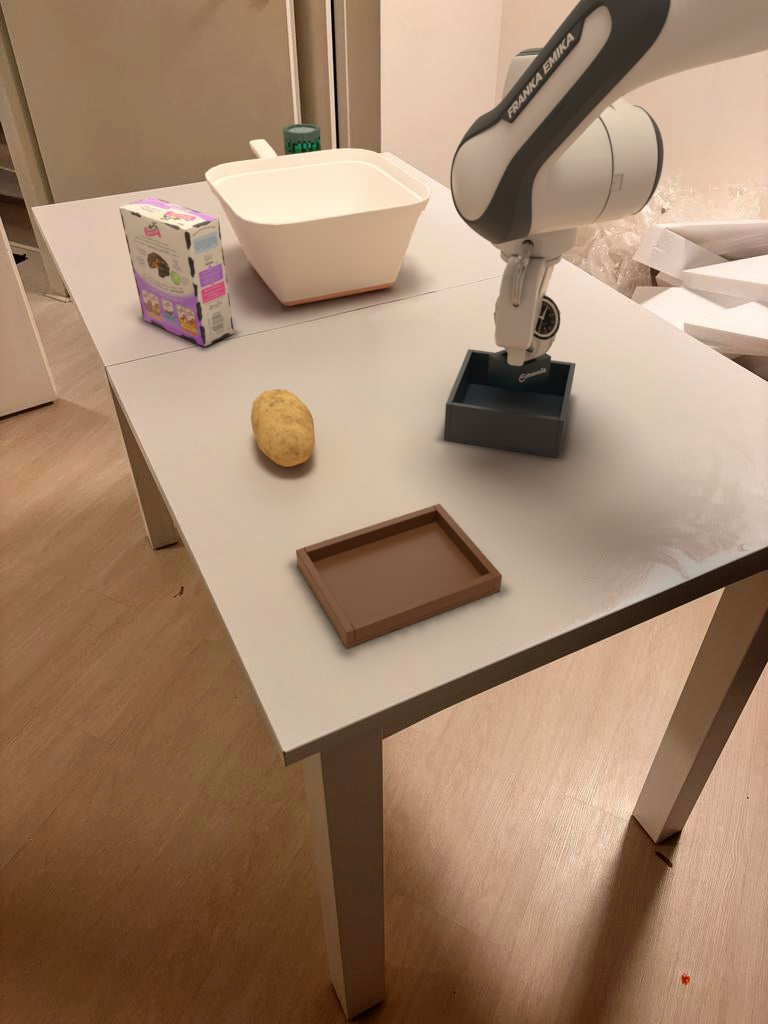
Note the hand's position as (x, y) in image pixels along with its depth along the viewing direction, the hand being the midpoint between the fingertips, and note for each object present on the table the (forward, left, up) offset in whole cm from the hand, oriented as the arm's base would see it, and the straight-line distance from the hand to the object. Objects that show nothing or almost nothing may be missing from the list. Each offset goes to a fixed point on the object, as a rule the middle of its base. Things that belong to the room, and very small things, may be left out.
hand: (520, 347), depth 90 cm
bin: (0, 0, -10) cm, 10 cm away
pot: (+40, -38, -10) cm, 56 cm away
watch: (0, 0, -4) cm, 4 cm away
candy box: (+48, -11, -10) cm, 51 cm away
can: (+47, -58, -10) cm, 75 cm away
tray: (+6, +30, -10) cm, 32 cm away
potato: (+24, +14, -10) cm, 29 cm away
